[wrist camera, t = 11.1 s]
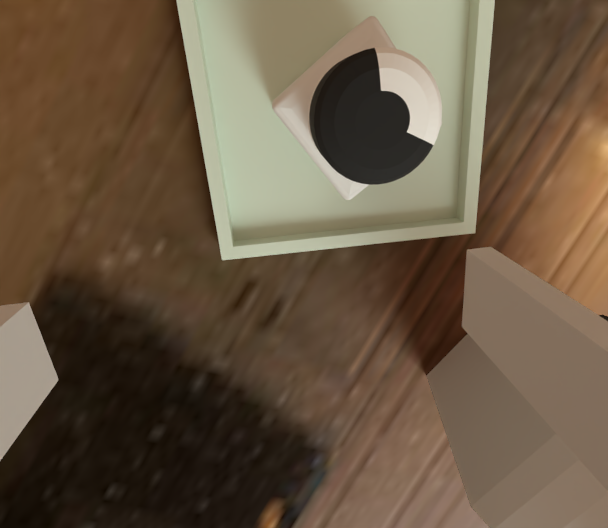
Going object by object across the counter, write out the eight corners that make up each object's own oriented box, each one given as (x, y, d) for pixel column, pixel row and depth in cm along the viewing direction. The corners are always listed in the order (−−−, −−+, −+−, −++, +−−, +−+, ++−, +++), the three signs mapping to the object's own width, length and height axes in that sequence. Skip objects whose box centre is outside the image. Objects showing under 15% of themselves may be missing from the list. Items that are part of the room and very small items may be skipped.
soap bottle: (393, 384, 40) (573, 807, 16) (465, 309, 37) (806, 686, 14) (478, 435, 44) (729, 844, 20) (550, 370, 41) (938, 753, 17)
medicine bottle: (331, 180, 31) (365, 228, 20) (269, 103, 29) (269, 109, 18) (407, 117, 30) (488, 131, 19) (349, 30, 28) (404, -12, 16)
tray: (224, 251, 33) (222, 260, 32) (173, -46, 26) (166, -57, 24) (464, 225, 34) (475, 233, 32) (485, -70, 26) (501, -83, 25)
